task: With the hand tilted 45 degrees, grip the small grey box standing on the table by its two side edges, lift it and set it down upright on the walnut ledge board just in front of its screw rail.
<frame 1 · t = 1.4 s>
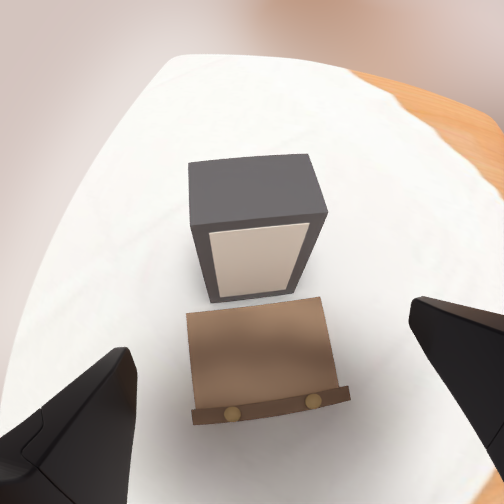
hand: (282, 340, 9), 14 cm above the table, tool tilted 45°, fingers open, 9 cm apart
ledge: (261, 361, 21), on the table
grey box: (248, 274, 25), on the table
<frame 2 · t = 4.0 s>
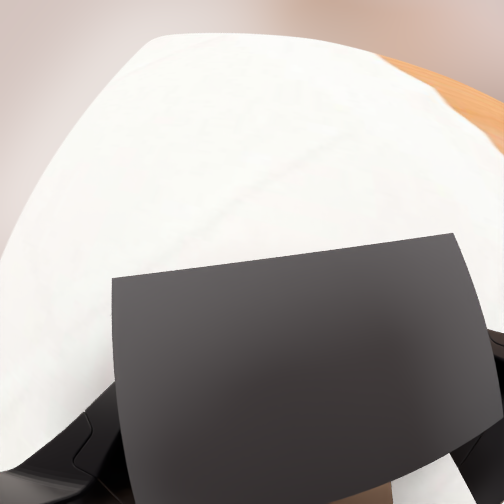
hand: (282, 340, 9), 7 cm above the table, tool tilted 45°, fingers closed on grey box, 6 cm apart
grey box: (269, 390, 14), on the table, touching gripper
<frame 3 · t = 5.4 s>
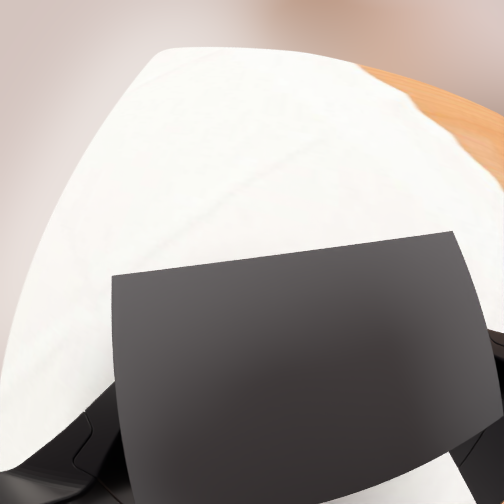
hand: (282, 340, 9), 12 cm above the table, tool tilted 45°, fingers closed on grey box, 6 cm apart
grey box: (269, 389, 14), point 5 cm above the table, touching gripper
when the fingers open (8 cm above the table, at t = 7.1 s): grey box stays where it is, resting on ledge.
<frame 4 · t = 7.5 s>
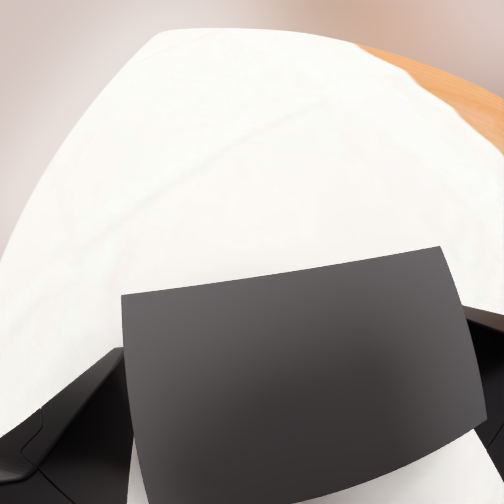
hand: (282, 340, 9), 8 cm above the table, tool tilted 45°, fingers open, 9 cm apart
grey box: (268, 391, 14), point 1 cm above the table, touching ledge
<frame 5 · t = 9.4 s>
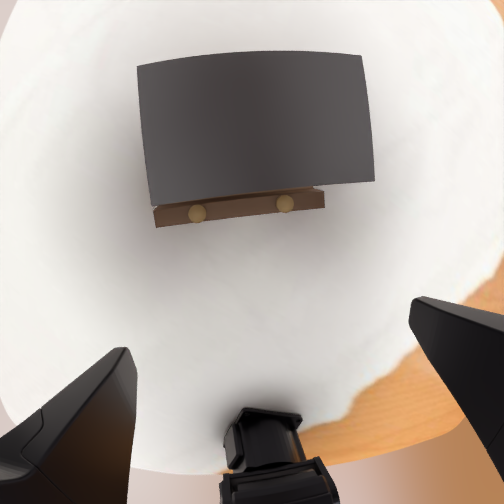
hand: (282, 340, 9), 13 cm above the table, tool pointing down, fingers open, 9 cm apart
ledge: (231, 148, 19), on the table
grey box: (231, 141, 18), point 1 cm above the table, touching ledge
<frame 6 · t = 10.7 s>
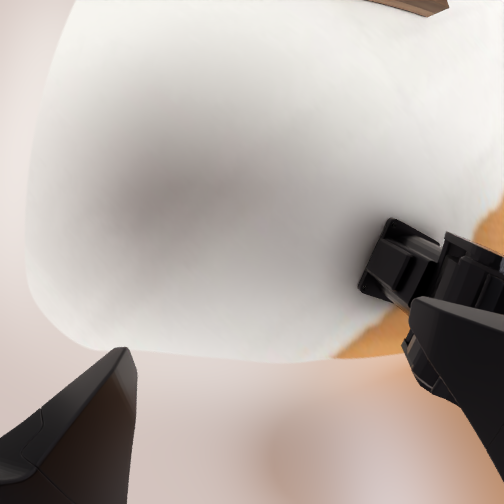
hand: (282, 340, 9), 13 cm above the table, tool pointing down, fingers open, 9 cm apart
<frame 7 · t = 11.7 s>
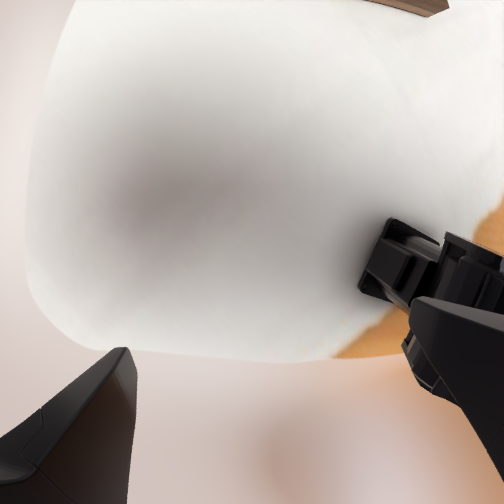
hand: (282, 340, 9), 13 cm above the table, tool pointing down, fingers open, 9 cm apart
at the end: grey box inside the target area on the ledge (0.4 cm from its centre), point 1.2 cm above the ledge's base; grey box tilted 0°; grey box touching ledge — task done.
